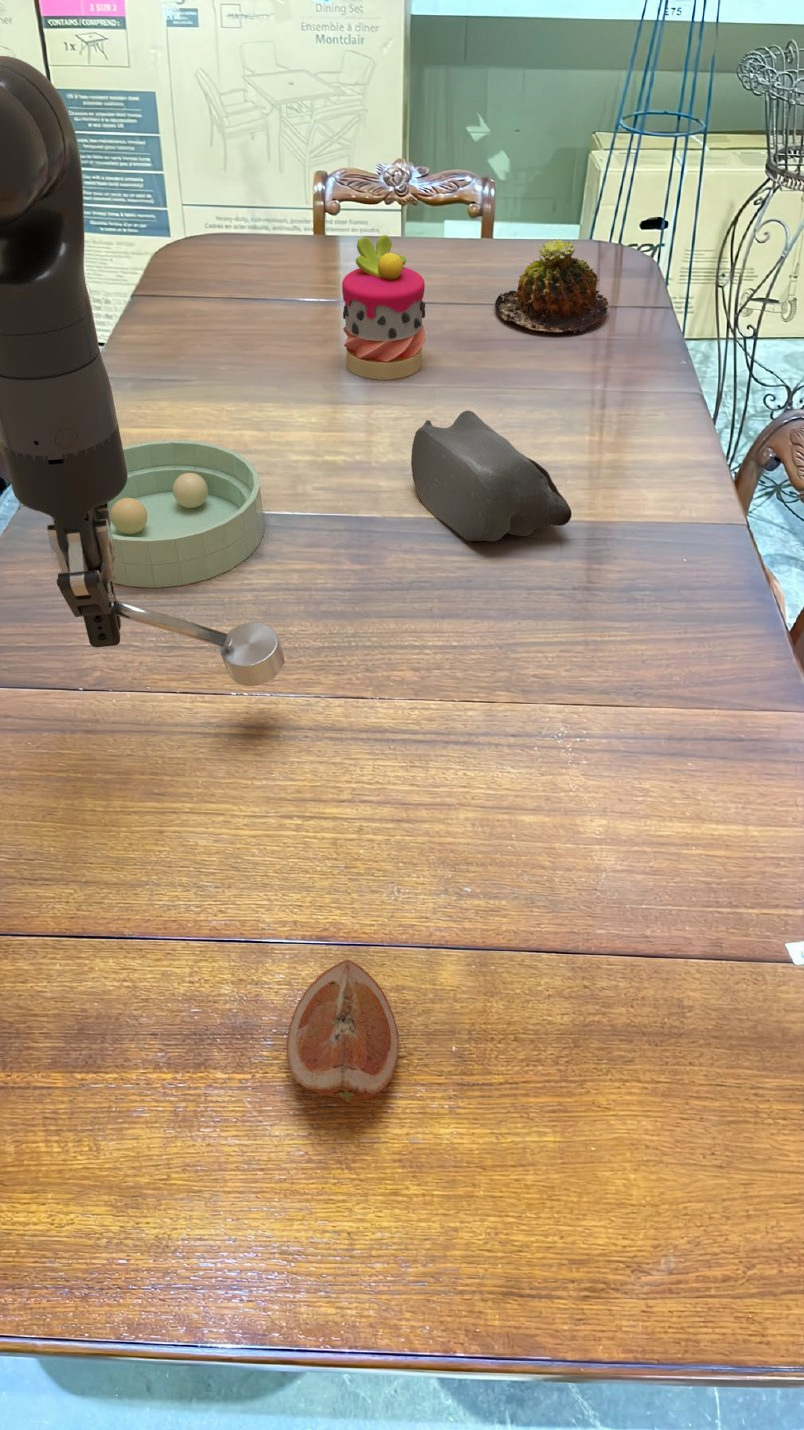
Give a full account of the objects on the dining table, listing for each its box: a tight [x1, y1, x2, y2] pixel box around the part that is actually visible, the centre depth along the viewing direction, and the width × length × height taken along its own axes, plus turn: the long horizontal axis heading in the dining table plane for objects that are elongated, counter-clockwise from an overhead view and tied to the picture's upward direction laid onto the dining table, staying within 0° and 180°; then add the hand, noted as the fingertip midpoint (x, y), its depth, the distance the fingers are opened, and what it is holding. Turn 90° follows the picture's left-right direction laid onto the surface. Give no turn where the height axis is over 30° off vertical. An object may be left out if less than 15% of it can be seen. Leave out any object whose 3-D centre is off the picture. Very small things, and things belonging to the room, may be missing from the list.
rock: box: [410, 410, 572, 542], centre depth 111 cm, size 18×11×8 cm, turn 29°
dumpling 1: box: [111, 498, 147, 534], centre depth 108 cm, size 4×4×4 cm
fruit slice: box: [286, 959, 400, 1102], centre depth 64 cm, size 8×7×5 cm
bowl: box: [109, 439, 265, 589], centre depth 107 cm, size 19×19×6 cm
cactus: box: [494, 238, 610, 335], centre depth 150 cm, size 17×16×10 cm
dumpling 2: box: [173, 473, 208, 508], centre depth 112 cm, size 4×4×4 cm
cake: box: [341, 234, 426, 381], centre depth 136 cm, size 10×11×15 cm
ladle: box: [113, 598, 285, 687], centre depth 82 cm, size 14×5×10 cm, turn 93°
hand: (106, 636), depth 81 cm, fingers closed on ladle, 1 cm apart
